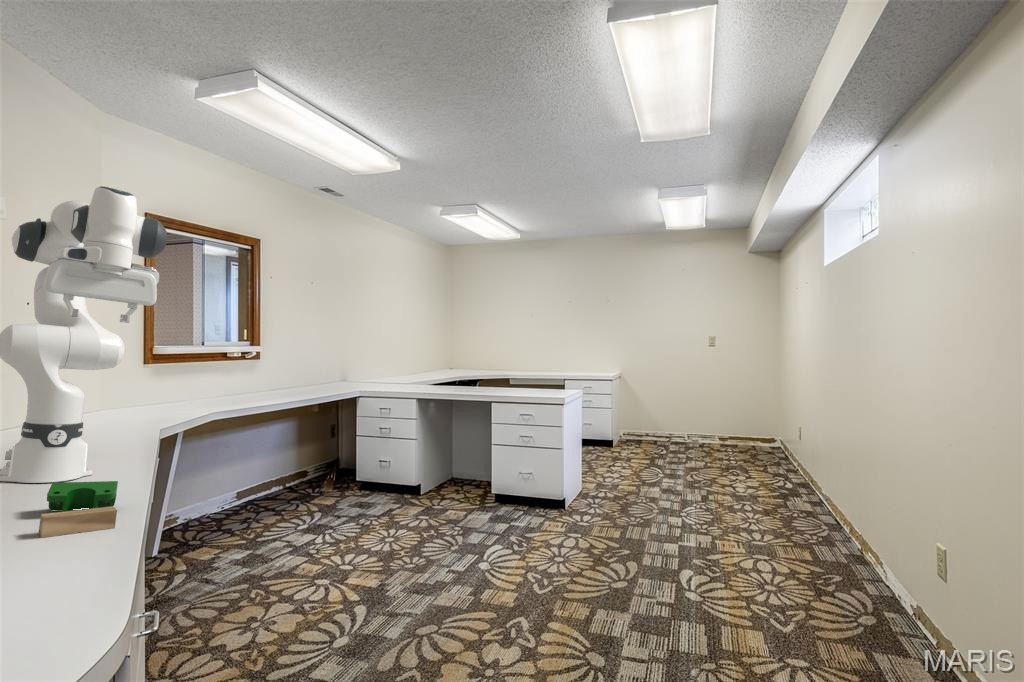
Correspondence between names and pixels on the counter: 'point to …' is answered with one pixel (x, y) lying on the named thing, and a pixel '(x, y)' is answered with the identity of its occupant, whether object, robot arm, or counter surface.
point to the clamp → (81, 495)
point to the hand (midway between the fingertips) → (99, 319)
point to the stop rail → (77, 521)
